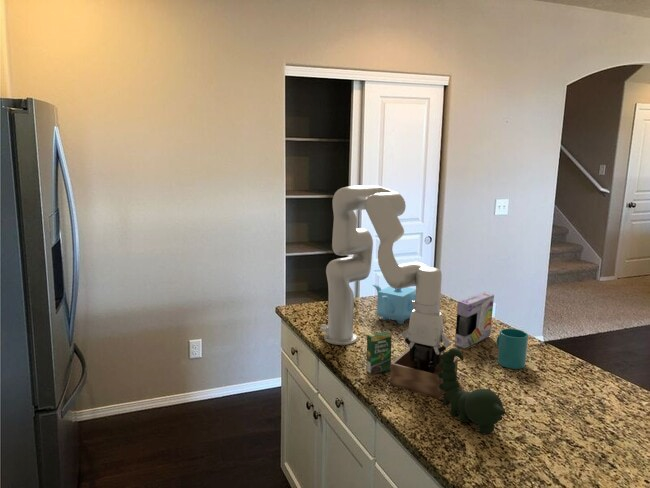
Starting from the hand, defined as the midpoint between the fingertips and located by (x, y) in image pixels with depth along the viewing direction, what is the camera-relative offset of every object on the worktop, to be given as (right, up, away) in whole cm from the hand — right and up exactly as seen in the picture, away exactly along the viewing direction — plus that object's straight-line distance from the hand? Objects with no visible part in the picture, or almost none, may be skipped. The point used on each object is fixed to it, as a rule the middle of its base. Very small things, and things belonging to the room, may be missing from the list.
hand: (424, 361), depth 159 cm
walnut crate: (0, -7, +1) cm, 7 cm away
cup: (+32, -4, +16) cm, 36 cm away
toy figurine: (+8, -11, -21) cm, 25 cm away
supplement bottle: (0, -3, +1) cm, 4 cm away
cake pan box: (+25, -1, +35) cm, 43 cm away
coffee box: (-14, -5, +8) cm, 17 cm away
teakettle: (-1, +4, +59) cm, 59 cm away
